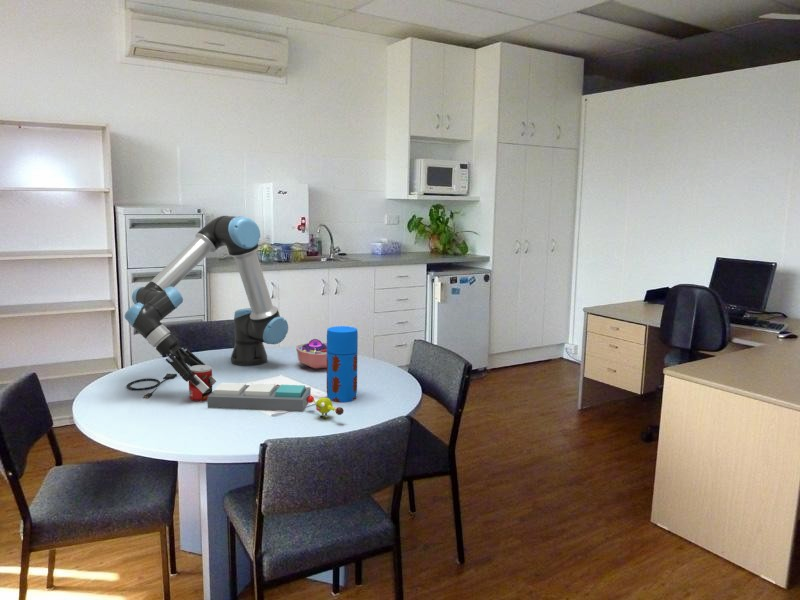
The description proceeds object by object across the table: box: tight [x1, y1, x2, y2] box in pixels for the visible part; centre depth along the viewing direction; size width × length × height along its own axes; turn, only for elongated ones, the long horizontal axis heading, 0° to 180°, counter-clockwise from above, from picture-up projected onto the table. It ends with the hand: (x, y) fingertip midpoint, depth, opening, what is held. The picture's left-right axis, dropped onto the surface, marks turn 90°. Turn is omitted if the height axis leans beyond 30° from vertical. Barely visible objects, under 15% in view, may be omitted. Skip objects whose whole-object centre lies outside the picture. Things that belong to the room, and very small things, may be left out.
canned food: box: [188, 364, 213, 402], centre depth 222 cm, size 8×8×11 cm
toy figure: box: [306, 395, 344, 419], centre depth 205 cm, size 18×6×7 cm, turn 45°
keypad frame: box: [206, 384, 312, 412], centre depth 218 cm, size 14×32×4 cm, turn 87°
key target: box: [275, 384, 306, 398], centre depth 218 cm, size 8×8×4 cm
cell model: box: [295, 338, 327, 370], centre depth 265 cm, size 17×20×11 cm
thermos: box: [326, 325, 359, 403], centre depth 224 cm, size 11×11×25 cm
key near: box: [213, 382, 247, 395], centre depth 219 cm, size 8×8×4 cm
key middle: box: [245, 383, 277, 396], centre depth 218 cm, size 8×8×4 cm
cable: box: [126, 373, 178, 399], centre depth 235 cm, size 14×28×2 cm, turn 179°
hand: (210, 387), depth 222 cm, fingers closed on canned food, 8 cm apart
